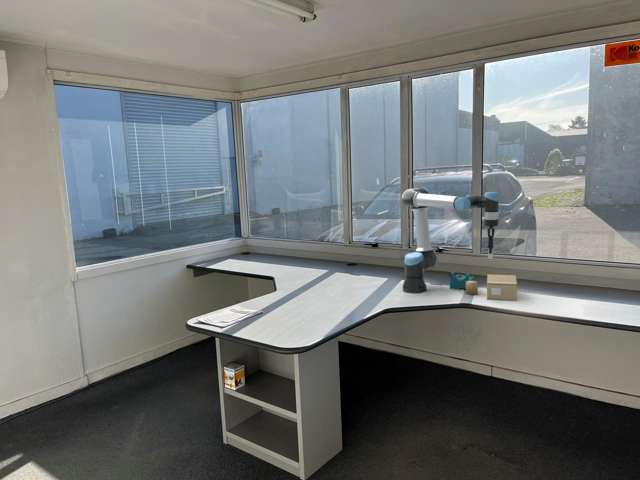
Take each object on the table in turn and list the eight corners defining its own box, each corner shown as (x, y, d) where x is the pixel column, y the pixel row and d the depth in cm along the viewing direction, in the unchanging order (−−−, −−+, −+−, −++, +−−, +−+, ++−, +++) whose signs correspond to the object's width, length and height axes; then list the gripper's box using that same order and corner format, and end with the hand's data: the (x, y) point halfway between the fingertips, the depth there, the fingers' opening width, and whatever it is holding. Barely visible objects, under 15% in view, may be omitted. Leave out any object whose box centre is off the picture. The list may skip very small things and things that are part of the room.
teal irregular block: (467, 291, 282) (468, 275, 280) (449, 288, 288) (451, 272, 285) (472, 284, 298) (474, 268, 296) (456, 281, 303) (457, 266, 301)
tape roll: (468, 294, 272) (469, 283, 271) (463, 292, 278) (463, 280, 277) (479, 294, 273) (480, 282, 272) (474, 291, 279) (474, 280, 278)
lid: (486, 283, 261) (486, 282, 261) (487, 275, 279) (487, 274, 279) (517, 285, 255) (517, 283, 255) (515, 276, 273) (515, 275, 273)
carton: (486, 299, 262) (486, 284, 261) (487, 289, 280) (487, 275, 279) (516, 300, 256) (517, 285, 255) (515, 291, 275) (515, 276, 273)
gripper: (498, 220, 253) (497, 261, 257) (498, 217, 265) (497, 256, 269) (484, 220, 256) (483, 260, 260) (484, 217, 268) (483, 256, 272)
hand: (490, 258), depth 265 cm, fingers closed
